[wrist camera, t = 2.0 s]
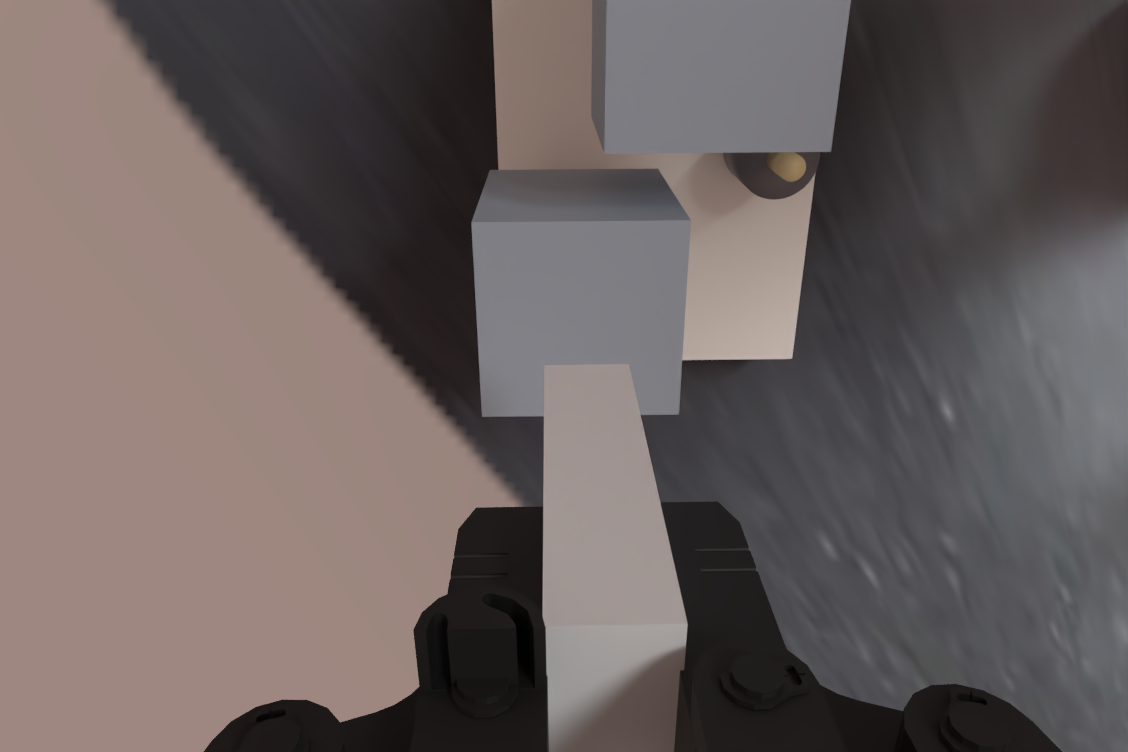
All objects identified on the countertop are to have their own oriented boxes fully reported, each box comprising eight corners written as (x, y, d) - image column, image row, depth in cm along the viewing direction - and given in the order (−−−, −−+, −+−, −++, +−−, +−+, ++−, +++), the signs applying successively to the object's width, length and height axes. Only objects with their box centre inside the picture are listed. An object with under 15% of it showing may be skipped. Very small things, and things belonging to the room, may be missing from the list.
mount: (871, -452, 23) (996, -629, 16) (778, 338, 33) (833, 420, 26) (478, -453, 22) (450, -630, 16) (508, 342, 33) (498, 424, 26)
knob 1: (657, 168, 24) (690, 220, 18) (650, 325, 26) (678, 414, 20) (489, 169, 24) (471, 222, 18) (496, 326, 26) (481, 416, 20)
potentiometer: (802, 105, 27) (842, 122, 23) (794, 183, 28) (830, 211, 24) (725, 106, 27) (753, 123, 23) (719, 184, 28) (745, 211, 24)
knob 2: (782, -83, 21) (865, -112, 16) (763, 115, 23) (830, 151, 18) (592, -82, 21) (608, -111, 16) (591, 116, 23) (604, 153, 18)
